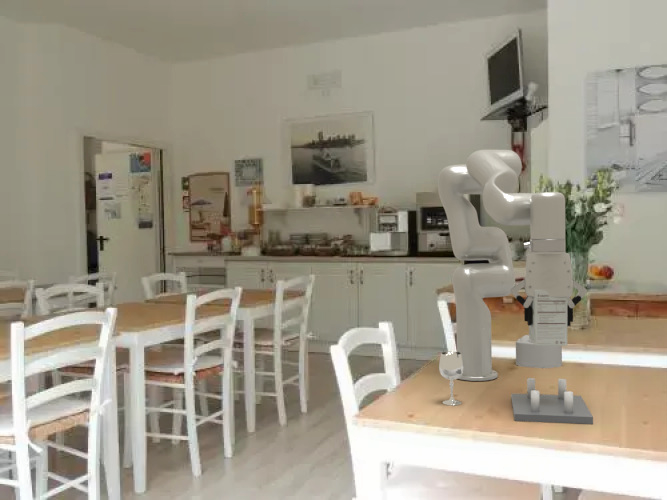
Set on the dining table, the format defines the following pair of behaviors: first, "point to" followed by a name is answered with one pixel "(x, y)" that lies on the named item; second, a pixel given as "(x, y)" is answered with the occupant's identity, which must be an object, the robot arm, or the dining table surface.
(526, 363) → the lumpy-topped squat cylinder
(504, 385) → the dining table surface
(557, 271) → the robot arm
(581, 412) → the pin tray
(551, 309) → the supplement box
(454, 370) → the wineglass
